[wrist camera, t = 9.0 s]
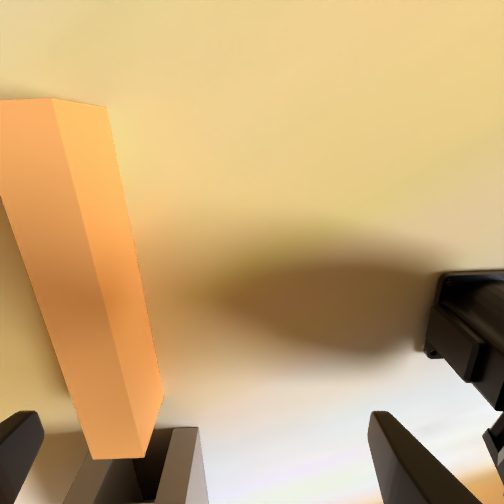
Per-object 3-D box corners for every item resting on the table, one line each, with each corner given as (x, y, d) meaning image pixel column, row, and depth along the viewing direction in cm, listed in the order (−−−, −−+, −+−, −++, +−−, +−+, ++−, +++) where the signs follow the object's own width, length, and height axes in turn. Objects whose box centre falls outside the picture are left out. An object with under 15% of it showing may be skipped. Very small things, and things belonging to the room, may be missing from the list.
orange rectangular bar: (49, 110, 16) (-33, 102, 11) (108, 107, 16) (51, 98, 11) (123, 394, 23) (92, 459, 19) (165, 393, 23) (144, 457, 19)
